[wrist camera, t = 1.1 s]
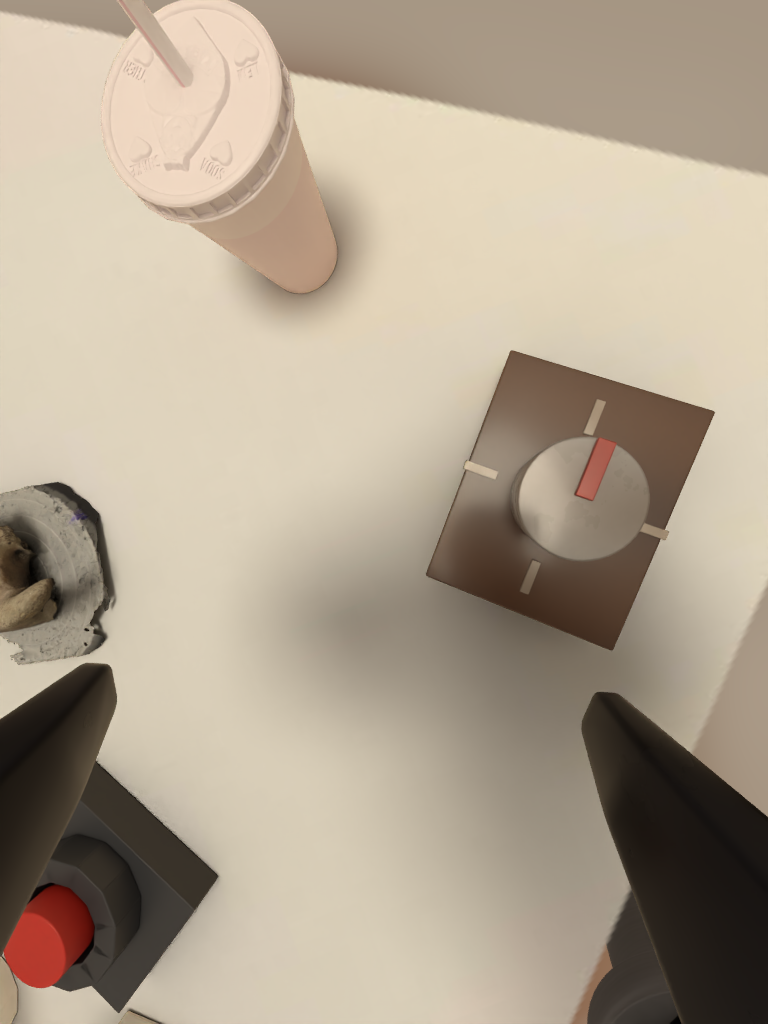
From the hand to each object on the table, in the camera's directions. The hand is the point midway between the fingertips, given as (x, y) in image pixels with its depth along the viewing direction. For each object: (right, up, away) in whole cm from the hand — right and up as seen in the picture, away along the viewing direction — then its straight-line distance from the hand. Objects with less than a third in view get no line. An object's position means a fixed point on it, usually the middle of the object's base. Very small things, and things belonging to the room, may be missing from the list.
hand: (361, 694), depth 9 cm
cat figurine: (-20, 0, +19) cm, 28 cm away
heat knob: (+8, +4, +10) cm, 13 cm away
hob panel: (+8, +4, +13) cm, 16 cm away
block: (-15, -17, +19) cm, 29 cm away
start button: (-16, -17, +15) cm, 28 cm away
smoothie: (-4, +16, +15) cm, 23 cm away
